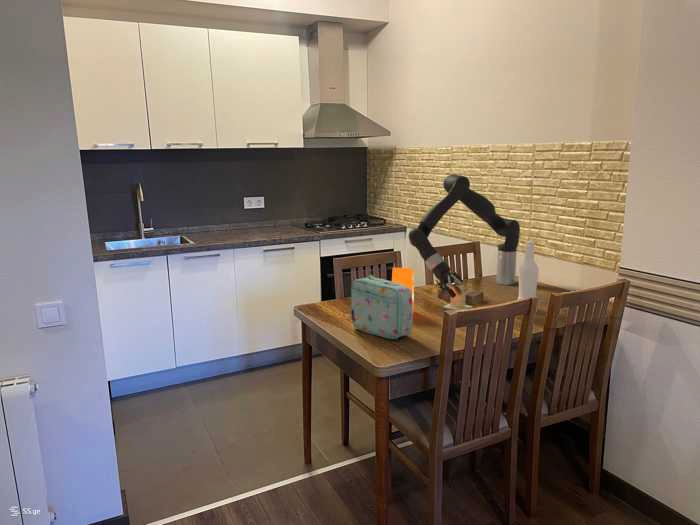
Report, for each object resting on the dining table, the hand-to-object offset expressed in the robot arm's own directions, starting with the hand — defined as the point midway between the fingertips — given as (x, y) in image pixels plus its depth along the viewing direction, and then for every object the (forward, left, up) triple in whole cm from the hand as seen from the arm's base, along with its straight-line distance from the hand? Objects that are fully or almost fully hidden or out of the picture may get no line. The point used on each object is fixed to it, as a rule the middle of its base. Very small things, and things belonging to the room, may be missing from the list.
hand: (459, 294), depth 218 cm
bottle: (+9, +27, -6) cm, 29 cm away
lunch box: (+21, -41, -6) cm, 47 cm away
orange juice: (+1, -26, -6) cm, 27 cm away
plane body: (-13, +6, -6) cm, 15 cm away
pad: (-1, -1, -6) cm, 6 cm away
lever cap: (-1, -1, -5) cm, 6 cm away
